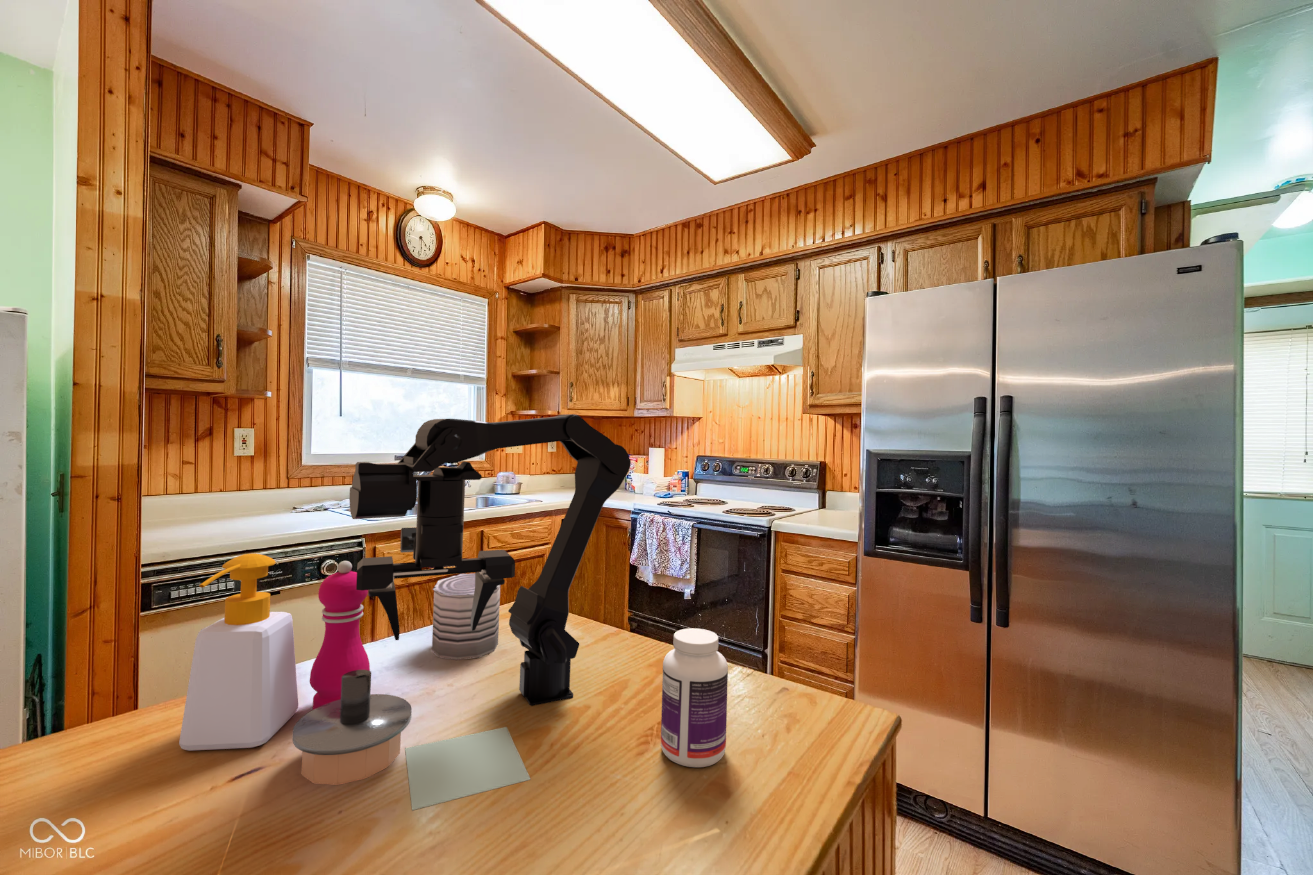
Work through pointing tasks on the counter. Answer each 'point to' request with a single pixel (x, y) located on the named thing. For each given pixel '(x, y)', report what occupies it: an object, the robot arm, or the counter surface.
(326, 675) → the pepper mill
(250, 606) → the soap bottle
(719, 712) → the pill bottle
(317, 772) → the bowl
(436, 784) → the mat
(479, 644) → the can
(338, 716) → the lid
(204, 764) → the counter surface
